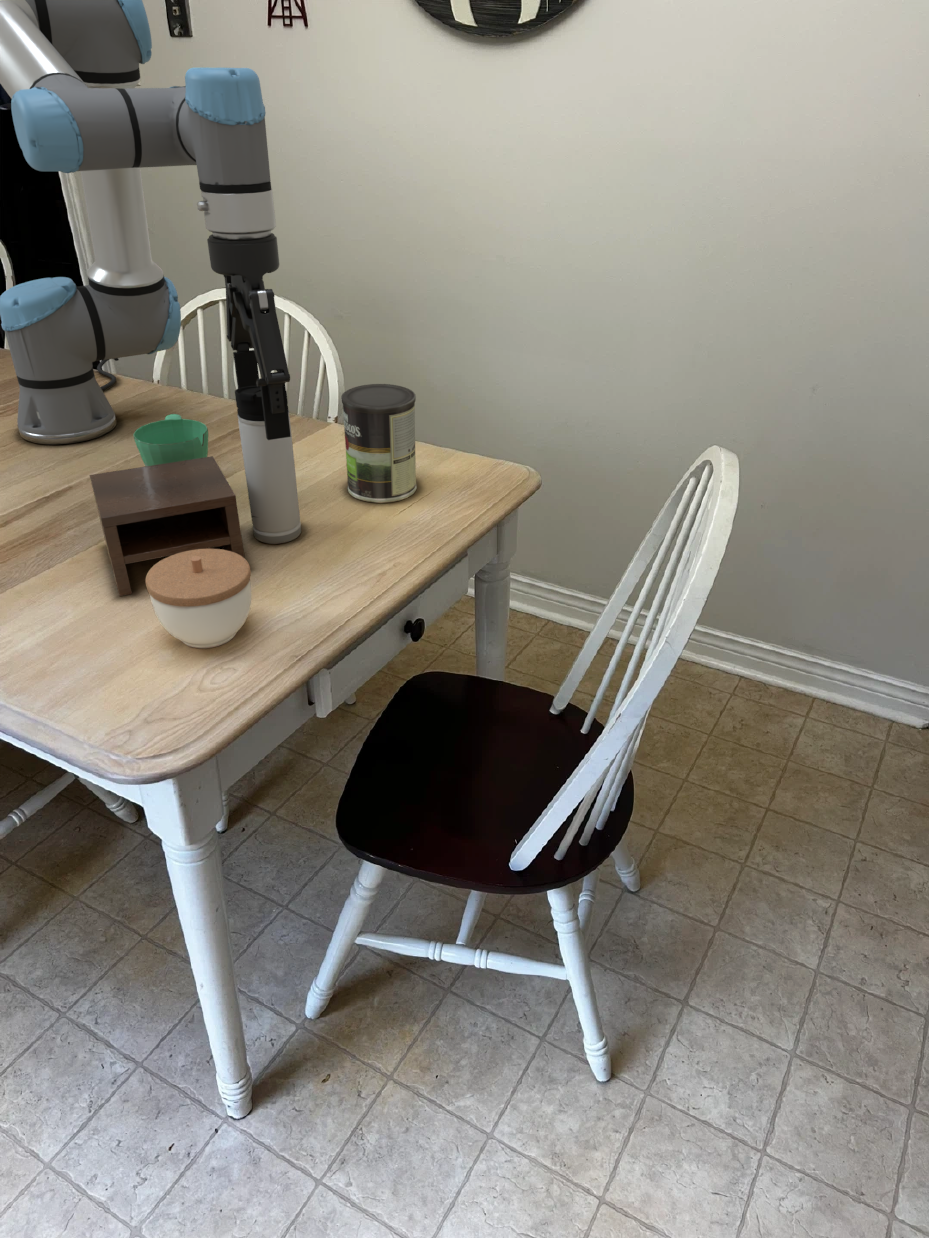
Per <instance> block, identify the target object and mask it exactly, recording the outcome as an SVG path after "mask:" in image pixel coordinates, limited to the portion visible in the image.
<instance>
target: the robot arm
mask: <svg viewBox="0 0 929 1238" xmlns="http://www.w3.org/2000/svg"><path fill="white" fill-rule="evenodd" d="M151 33H152V32H151V28H150V23H149V19H148V15H147V11H146V8H145V5H144V2H143V0H0V85H1V87H2V88H3V90H4V91H5V92H6V93H7V95H8V96H9V97H10V99H11V101H10V102H11V103H10V108H11V116H12V117H11V118H12V122H13V126H14V131H15V135H16V139H17V142H18V144H19V145H18V146H19V148H20V149H21V151H22V155H23V157H24V159H25V161H26V162H27V164H28V165H29V166H30V167H31V168H32V169H34V170H35V171H38V172H60V173H64V174H71V173H76V172H79V173H80V179H81V184H82V190H83V196H84V202H85V203H84V204H85V209H86V215H87V220H88V226H89V232H90V238H91V244H92V251H93V256H94V261H93V263H92V264H91V265H90V266H89V267H88V269H87V270H86V275H87V276H86V277H87V282H88V284H86V285H80V286H77V285H76V283H75V282H74V281H73V279H72V278H70V277H66V276H55V277H43V278H38V279H33V280H29V281H25V282H22V283H19V284H16V285H13V286H11V287H9V288H8V289H6V290H5V291H4V292H2V293H1V295H0V320H1V324H0V325H1V329H2V330H3V331H4V335H5V337H6V341H7V345H8V349H9V352H10V357H11V360H12V364H13V368H14V372H15V376H16V378H17V382H18V383H17V384H18V387H19V394H18V405H17V406H18V407H17V421H16V423H17V428H18V429H17V430H18V432H19V435H20V437H21V438H22V439H23V440H24V441H28V442H30V443H35V444H41V445H66V444H75V443H80V442H85V441H89V440H93V439H96V438H99V437H102V436H104V435H106V434H107V433H109V432H112V430H114V429H115V427H116V426H117V418H116V413H115V411H114V409H113V406H112V405H111V403H110V401H109V400H108V398H107V397H106V395H105V393H104V391H105V390H107V389H109V388H111V387H112V386H113V385H115V383H116V382H117V377H116V376H115V375H114V374H113V373H110V372H107V371H105V370H103V369H102V368H103V366H104V365H105V364H106V363H107V362H108V361H110V360H114V361H115V362H117V361H120V360H119V358H127V357H133V356H134V357H135V356H141V355H153V354H155V353H156V352H162V351H167V350H170V349H171V348H173V347H174V346H175V344H176V343H177V342H178V340H179V338H180V334H181V327H182V326H181V325H182V313H181V312H182V311H181V303H180V302H179V299H178V298H179V294H178V290H177V288H176V286H175V284H174V282H173V281H172V280H171V279H170V278H168V277H166V276H164V275H165V274H164V270H163V269H162V268H161V267H160V266H159V265H158V264H157V263H156V262H155V261H154V260H153V257H152V250H151V249H152V248H151V242H150V233H149V225H148V218H147V217H148V216H147V209H146V201H145V193H144V185H143V177H142V170H141V169H142V168H143V169H144V168H162V167H165V168H166V167H183V166H196V170H197V176H198V184H199V185H198V186H199V190H200V193H201V194H200V195H201V198H202V200H200V201H198V202H196V206H197V210H199V212H203V216H204V224H205V229H206V230H207V231H209V232H210V233H212V234H210V235H209V236H208V238H207V240H206V241H207V242H206V243H207V248H208V255H209V262H210V263H209V264H210V268H211V270H212V271H213V272H214V273H216V274H218V275H222V276H223V278H224V284H225V308H226V338H227V340H228V342H229V343H230V347H231V349H232V351H233V352H232V354H233V355H232V356H233V362H234V369H235V376H236V384H237V389H239V388H242V387H249V386H257V387H260V389H261V397H262V406H263V414H264V422H265V430H266V438H267V439H268V440H273V439H279V438H286V437H291V435H292V434H291V435H290V425H291V424H290V425H289V417H290V415H289V416H288V410H289V405H288V406H287V400H288V396H287V397H286V391H287V388H286V383H289V382H290V381H291V374H290V372H289V368H288V367H289V366H288V362H287V358H286V353H285V348H284V343H283V338H282V334H281V328H280V324H279V319H278V315H277V309H276V302H275V291H274V290H273V289H272V288H266V287H265V283H264V276H265V275H266V274H271V273H274V272H276V271H277V270H279V267H280V255H279V247H278V237H277V236H276V235H275V234H274V233H273V232H272V231H273V230H275V229H276V227H277V222H276V213H275V211H276V210H275V202H274V201H275V200H274V192H273V187H272V182H271V171H270V159H269V149H268V139H267V128H266V127H267V125H266V113H267V112H266V105H264V99H263V94H262V87H261V81H260V77H259V76H258V74H257V72H256V71H254V69H252V68H250V67H191V68H188V69H187V71H186V72H185V75H184V82H185V86H180V85H179V86H178V85H172V86H170V87H137V86H138V85H139V83H140V82H141V80H142V79H141V70H140V65H145V64H147V63H148V62H149V61H150V60H151V58H152V49H153V42H152V34H151ZM250 349H251V350H250ZM95 362H99V363H98V365H97V367H96V371H97V372H98V373H99V374H100V375H103V376H105V377H107V378H110V379H111V380H110V381H108V382H107V383H105V384H103V385H102V386H100V384H99V383H98V380H97V379H96V375H95V371H94V366H93V363H95ZM272 371H273V372H272Z"/></svg>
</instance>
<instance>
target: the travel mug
mask: <svg viewBox="0 0 929 1238" xmlns="http://www.w3.org/2000/svg"><path fill="white" fill-rule="evenodd" d="M234 396H235V404H236V408H237V410H236V411H237V413H236V414H237V419H238V421H237V422H238V429H239V437H240V444H241V452H242V460H243V466H244V473H245V481H246V482H245V483H246V489H247V495H248V496H247V497H248V502H249V509H250V518H251V525H252V532H253V533H252V534H253V536H254V538H255V539H256V540H257V541H259V542H261V543H265V544H270V545H277V544H279V545H280V544H285V543H288V542H292V541H293V540H295V539H297V538H298V537H299V536H300V535H301V533H302V524H301V514H300V504H299V495H298V484H297V475H296V465H295V456H294V455H295V454H294V445H293V437H292V436H293V435H292V427H291V417H290V410H289V409H288V416H289V425H290V435H291V437H286V438H279V439H273V440H268V439H267V438H266V430H265V422H264V414H263V406H262V397H261V389H260V387H257V386H249V387H242V388H239V389H238V388H236V389H235V390H234ZM286 397H287V398H288V391H287V390H286ZM287 406H288V407H289V401H288V399H287Z"/></svg>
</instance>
